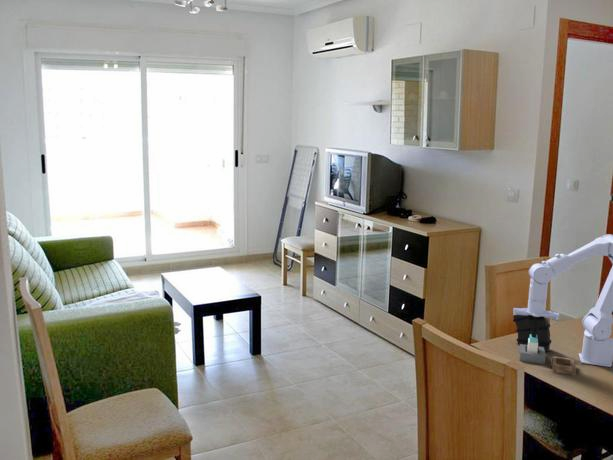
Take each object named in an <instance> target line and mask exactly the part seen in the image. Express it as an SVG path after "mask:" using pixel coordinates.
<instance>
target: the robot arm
mask: <svg viewBox="0 0 613 460" xmlns="http://www.w3.org/2000/svg"><path fill="white" fill-rule="evenodd" d="M595 255H597V256H605V257H608V259H609V260H610V262H611V264H612V267H611V268H610V270H609V273H608V275H607V277H606V280H605V282H604V285H603V287H602V289H601V291H600V294H599V296H598V299H597V301H596V303H595V306H594V307H592V308H590V309H589V311H588V313H587V314H586V315H585V316H584V317H583V319H582V321H581V324H582V327H583V328H584V332H583V339H582V340H583V341H582V348H581V352H579V353H578V356H579V360H580V362H581V364H586V365H587V364H588V365H594V366H595V365H596V366H601V367H608V368H612V367H613V338H612V337H610V336H611V335H612V332H613V330H612V326H613V315H612V314H613V234H611V233H610V234H609V233H607V234H604V235H602V236H599V237H597V238H595V239H594V240H592V241H591V242H589V243H587V244H585V245H583V246H582V247H581V246H580V247H579V248H578V249H575V250H574V251H572V252H570V253H568V254H565V253H560V254H559V253H556V254H554V257H551V258H550V259H547V260H543V261H541V263H538V262H537V263H534V264H532V266H531V267H529V269H528V273H527V274H528V275H529V277H530V281H529V289H528V300H527V307H523V308H522V307H521V308H520V307H513V311H512V313H513V316H514V315H526V316H527V319H528V322H529V324H530V327H531V336H532V337H535V338H536V335H537V332H538V330H539V328H540V327H541V325H542V324H543V322H544V318H547V319H554V320H555V321H559V320H560V314H559V312H555V311H550V310H546V308H547V297H548V290H549V289H548V286H549V282H551V280H552V278H553V277H556V276H558V275H560V274H562V273H565V272H566V271H568V270H571V268H572V266H573V264H576V263H578V262H580V261H583V260H586V259H588V258H590V257H593V256H595ZM535 317H536V318H535ZM534 326H535V328H534ZM611 366H612V367H611Z"/></svg>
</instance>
